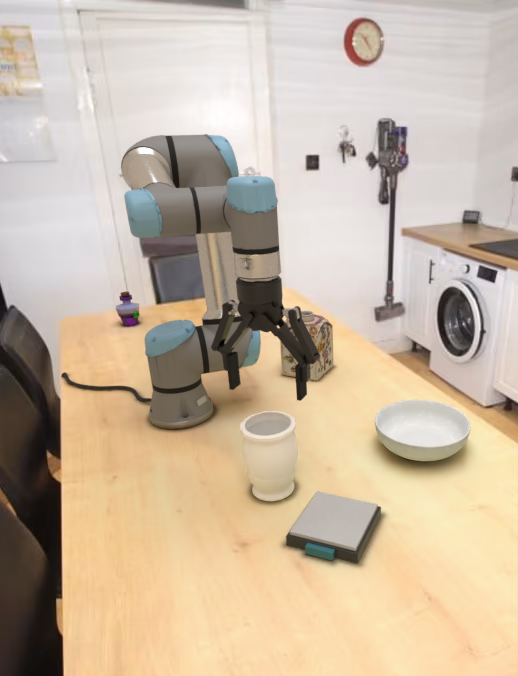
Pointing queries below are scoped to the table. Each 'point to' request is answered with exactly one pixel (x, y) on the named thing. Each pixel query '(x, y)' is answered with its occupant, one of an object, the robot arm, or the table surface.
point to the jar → (270, 453)
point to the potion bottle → (128, 310)
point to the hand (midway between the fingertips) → (267, 392)
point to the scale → (334, 527)
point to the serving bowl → (422, 429)
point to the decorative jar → (323, 341)
